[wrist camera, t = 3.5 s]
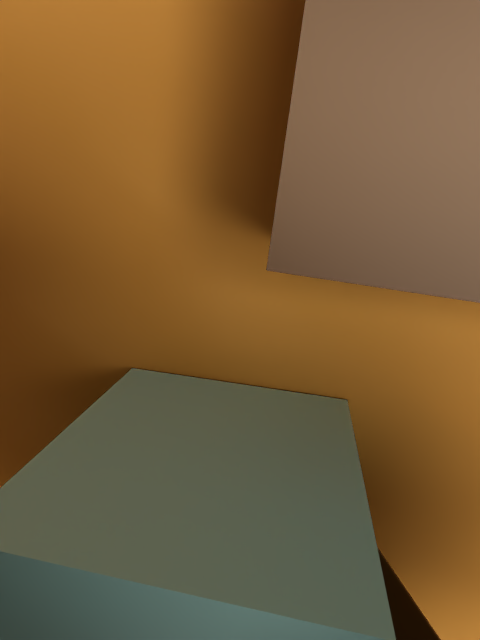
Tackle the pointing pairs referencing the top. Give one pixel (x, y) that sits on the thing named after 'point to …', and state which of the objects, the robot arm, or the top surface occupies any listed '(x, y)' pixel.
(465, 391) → the top surface
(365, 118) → the walnut block
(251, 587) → the teal cube
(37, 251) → the top surface
